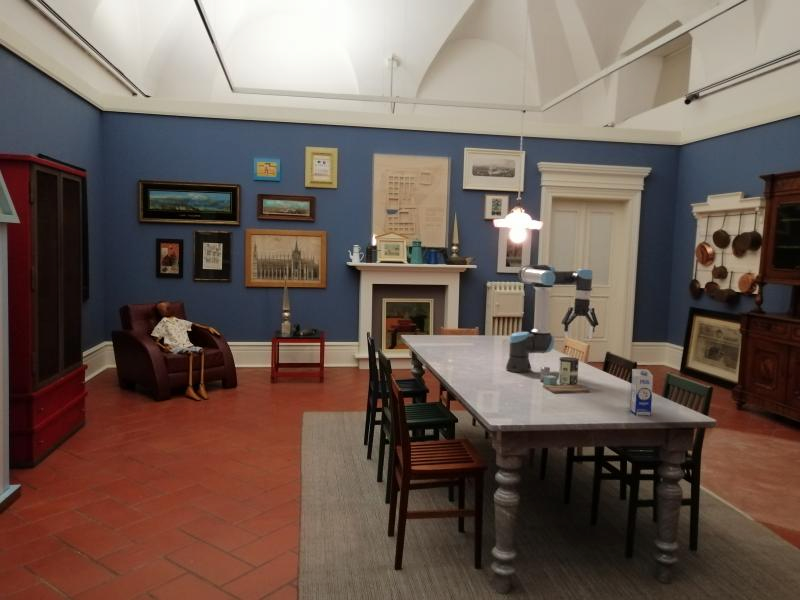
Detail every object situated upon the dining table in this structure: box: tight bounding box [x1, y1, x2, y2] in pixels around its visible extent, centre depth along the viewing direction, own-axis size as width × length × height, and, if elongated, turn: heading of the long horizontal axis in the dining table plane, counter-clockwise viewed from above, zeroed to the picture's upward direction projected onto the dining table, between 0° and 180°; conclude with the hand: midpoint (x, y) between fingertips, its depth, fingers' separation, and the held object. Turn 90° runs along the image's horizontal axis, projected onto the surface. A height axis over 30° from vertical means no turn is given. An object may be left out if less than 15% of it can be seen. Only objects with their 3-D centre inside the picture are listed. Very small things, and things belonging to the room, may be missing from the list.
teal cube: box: [542, 374, 558, 386], centre depth 313 cm, size 5×5×5 cm
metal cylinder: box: [539, 366, 551, 384], centre depth 322 cm, size 5×5×8 cm
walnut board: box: [542, 384, 590, 394], centre depth 303 cm, size 13×20×1 cm, turn 101°
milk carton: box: [629, 368, 654, 417], centre depth 260 cm, size 7×7×20 cm
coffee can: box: [558, 356, 580, 385], centre depth 318 cm, size 10×10×14 cm
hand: (578, 338), depth 305 cm, fingers open, 13 cm apart
